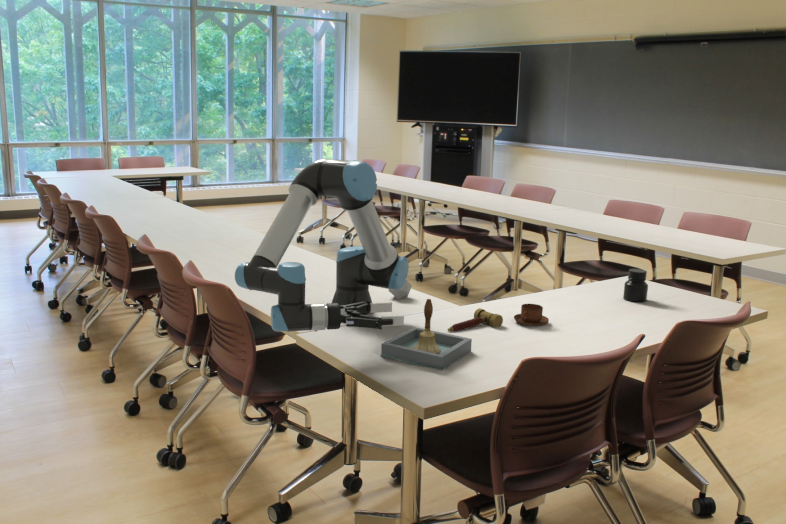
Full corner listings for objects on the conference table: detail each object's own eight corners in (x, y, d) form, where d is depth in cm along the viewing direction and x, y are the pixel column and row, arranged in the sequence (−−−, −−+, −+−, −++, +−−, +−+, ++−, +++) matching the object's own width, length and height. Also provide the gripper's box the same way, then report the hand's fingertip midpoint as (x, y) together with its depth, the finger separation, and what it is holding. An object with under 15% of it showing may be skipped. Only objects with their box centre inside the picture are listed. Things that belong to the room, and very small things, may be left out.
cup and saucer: (545, 330, 240) (547, 313, 239) (510, 325, 244) (511, 308, 243) (550, 321, 251) (551, 304, 250) (516, 316, 255) (517, 300, 254)
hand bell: (408, 347, 215) (410, 297, 211) (432, 345, 218) (435, 295, 215) (420, 356, 207) (422, 304, 204) (445, 353, 210) (447, 302, 207)
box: (413, 338, 226) (414, 326, 225) (470, 351, 216) (471, 338, 216) (381, 356, 209) (381, 343, 209) (441, 370, 200) (442, 357, 199)
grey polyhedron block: (413, 301, 272) (417, 279, 276) (397, 293, 267) (401, 270, 271) (398, 305, 278) (402, 282, 282) (383, 297, 273) (387, 274, 277)
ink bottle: (637, 296, 289) (641, 267, 287) (651, 302, 281) (655, 272, 279) (617, 297, 286) (620, 268, 284) (631, 303, 278) (634, 273, 275)
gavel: (458, 327, 230) (438, 319, 238) (458, 340, 231) (438, 332, 239) (503, 313, 242) (482, 307, 250) (503, 326, 244) (482, 319, 251)
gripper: (319, 316, 215) (386, 313, 220) (332, 343, 192) (408, 339, 197) (319, 292, 214) (387, 290, 219) (333, 316, 190) (409, 313, 195)
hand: (397, 313), depth 208 cm, fingers open, 13 cm apart
